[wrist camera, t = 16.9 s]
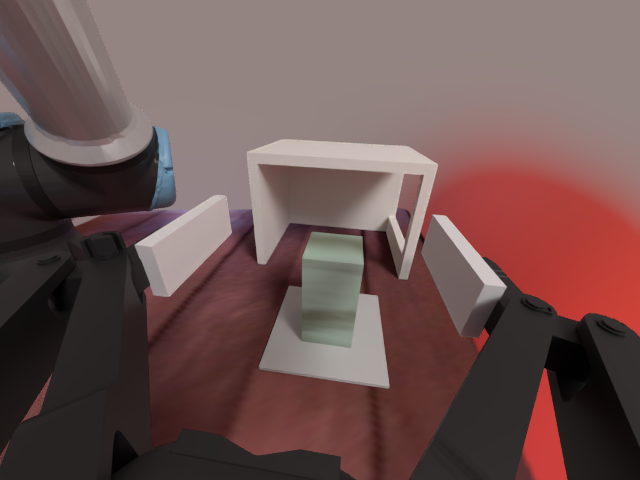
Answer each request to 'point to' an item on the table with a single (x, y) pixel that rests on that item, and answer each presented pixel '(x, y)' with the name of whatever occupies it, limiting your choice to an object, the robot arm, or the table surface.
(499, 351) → the robot arm
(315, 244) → the sage block
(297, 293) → the grey mat
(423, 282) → the table surface
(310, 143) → the nook cabinet
